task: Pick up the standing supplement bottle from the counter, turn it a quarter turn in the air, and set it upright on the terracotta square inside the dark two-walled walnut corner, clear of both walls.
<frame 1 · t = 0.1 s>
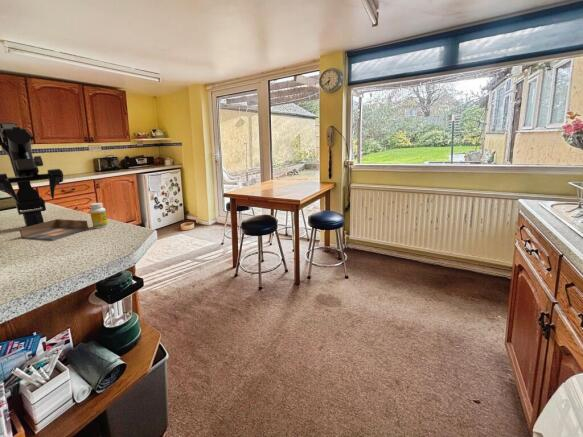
hand: (36, 200, 104), 15 cm above the countertop, tool tilted 30°, fingers open, 9 cm apart
supplement bottle: (101, 227, 125), on the countertop
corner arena: (56, 233, 118), on the countertop
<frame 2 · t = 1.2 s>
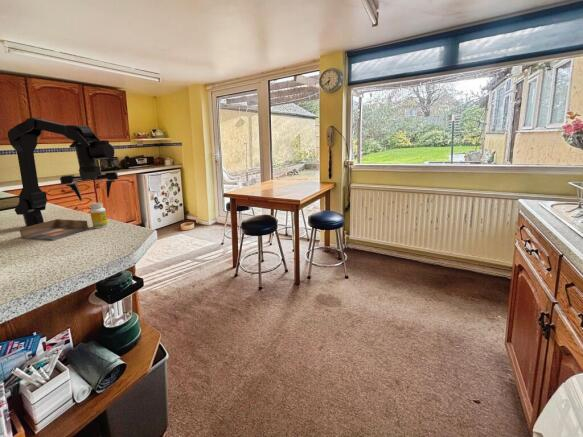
hand: (95, 199, 122), 11 cm above the countertop, tool pointing down, fingers open, 9 cm apart
nothing on the countertop moved.
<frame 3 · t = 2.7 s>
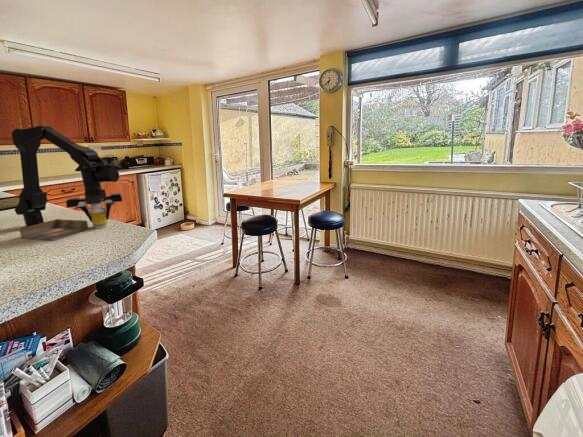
hand: (99, 220, 125), 3 cm above the countertop, tool pointing down, fingers closed on supplement bottle, 5 cm apart
supplement bottle: (101, 227, 125), on the countertop, touching gripper
when the fingers open (4 cm above the countertop, at t = 7.8 s): supplement bottle stays where it is, resting on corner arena.
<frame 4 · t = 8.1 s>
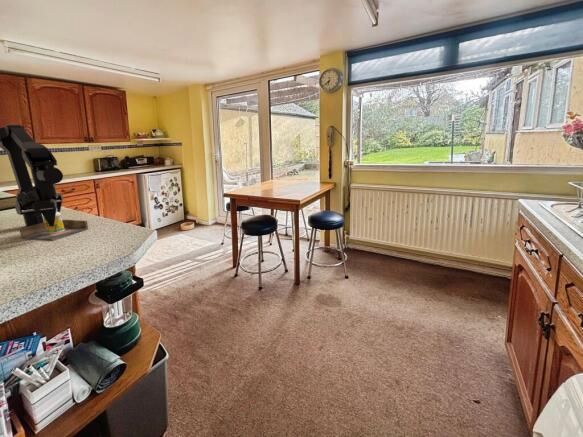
hand: (54, 223, 116), 4 cm above the countertop, tool pointing down, fingers open, 9 cm apart
supplement bottle: (56, 232, 117), point 1 cm above the countertop, touching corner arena
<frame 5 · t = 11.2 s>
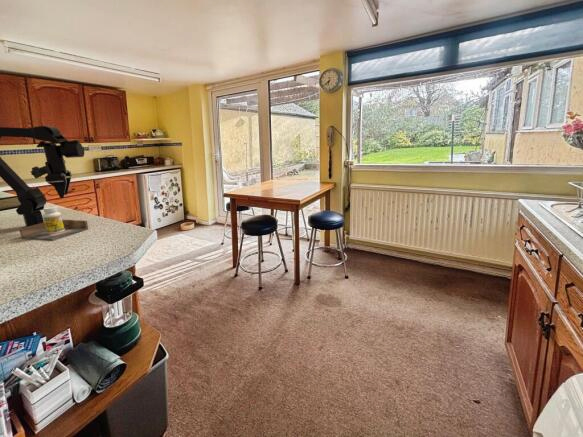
hand: (63, 196, 128), 12 cm above the countertop, tool pointing down, fingers open, 9 cm apart
nothing on the countertop moved.
at the end: supplement bottle 0.2 cm from the target spot on the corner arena, point 0.5 cm above the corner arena's base; supplement bottle tilted 0°; the gripper is holding nothing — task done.
